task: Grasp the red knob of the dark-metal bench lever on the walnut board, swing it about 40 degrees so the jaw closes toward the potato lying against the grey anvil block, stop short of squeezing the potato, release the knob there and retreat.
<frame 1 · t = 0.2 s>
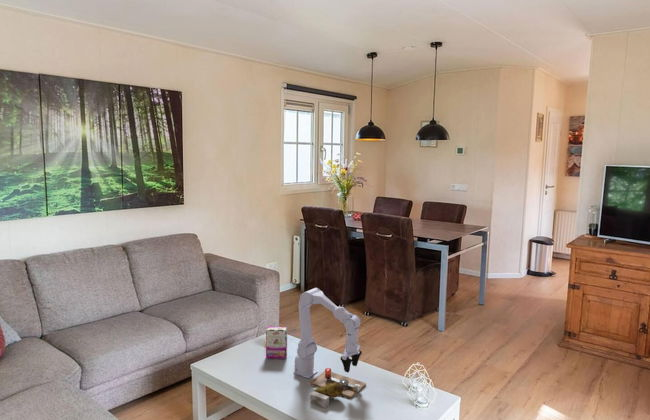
hand: (350, 368, 219), 10 cm above the table, fingers open, 7 cm apart
board: (337, 384, 223), on the table
potato: (328, 398, 210), on the table
lever: (341, 379, 220), point 4 cm above the table, hinge at 0.0°
candy bar box: (276, 357, 251), on the table
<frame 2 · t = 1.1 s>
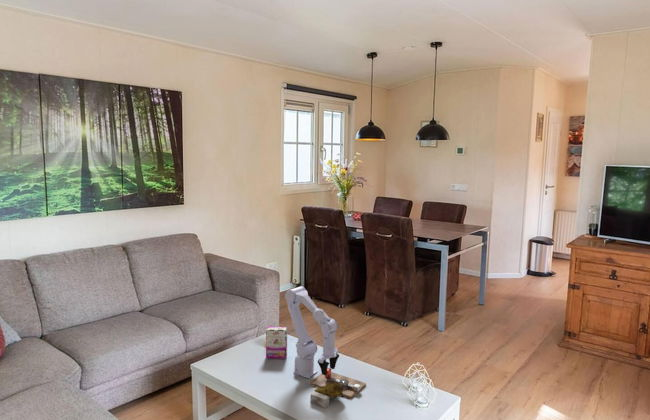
hand: (328, 371, 224), 6 cm above the table, fingers open, 7 cm apart
nothing on the table moved.
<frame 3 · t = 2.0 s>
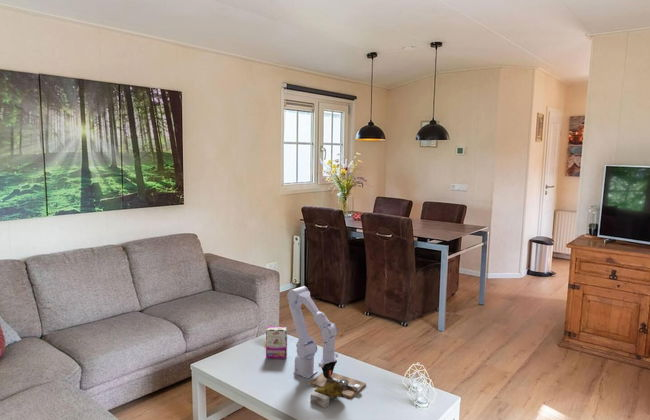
hand: (328, 375, 224), 4 cm above the table, fingers closed on lever, 3 cm apart
lever: (341, 379, 220), point 4 cm above the table, hinge at 0.0°, touching gripper
everything else where it was.
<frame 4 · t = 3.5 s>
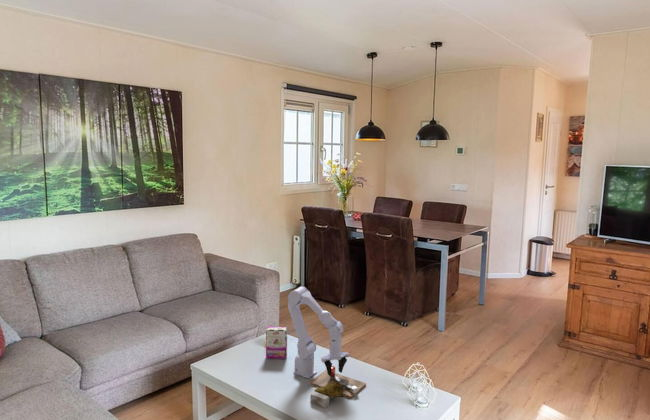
hand: (334, 373, 227), 4 cm above the table, fingers open, 6 cm apart
lever: (342, 379, 220), point 4 cm above the table, hinge at 19.1°, touching gripper
everything else where it was.
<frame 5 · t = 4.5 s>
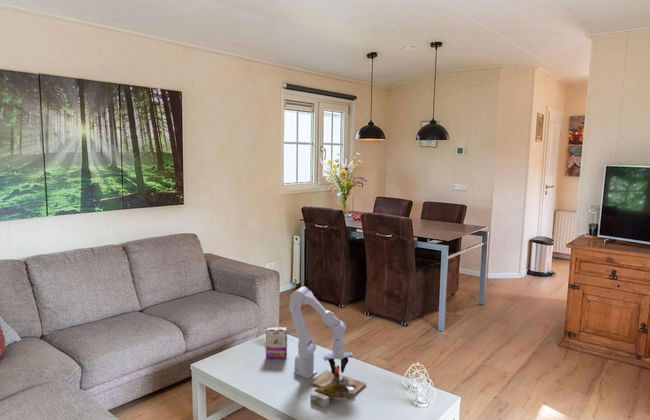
hand: (337, 372, 228), 4 cm above the table, fingers open, 4 cm apart
lever: (343, 378, 220), point 4 cm above the table, hinge at 34.7°, touching gripper
everything else where it was.
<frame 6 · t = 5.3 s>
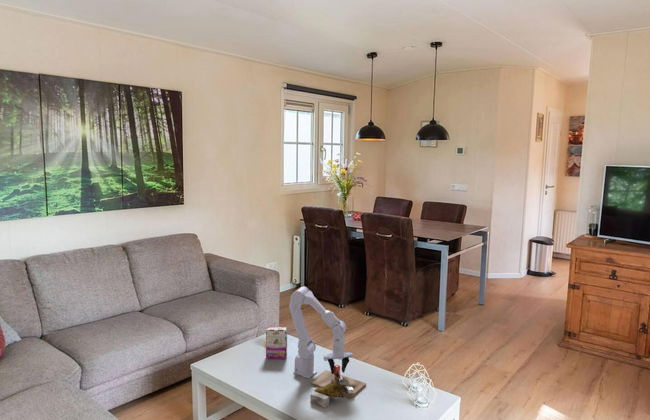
hand: (337, 372, 228), 4 cm above the table, fingers open, 5 cm apart
lever: (343, 378, 220), point 4 cm above the table, hinge at 36.9°
everything else where it was.
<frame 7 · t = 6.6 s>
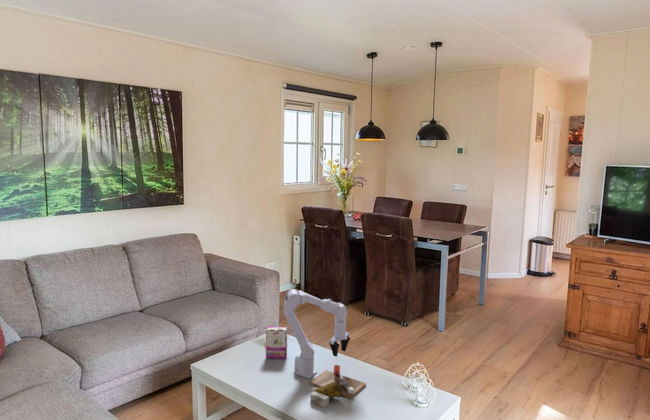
hand: (339, 353, 235), 10 cm above the table, fingers open, 7 cm apart
nothing on the table moved.
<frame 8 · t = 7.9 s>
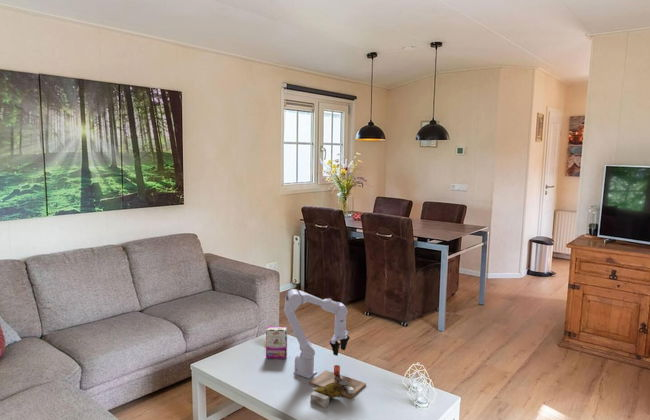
hand: (339, 352, 236), 10 cm above the table, fingers open, 7 cm apart
nothing on the table moved.
at the end: lever at +37° (first picture: +0°); potato moved 0.3 cm from its start; the gripper is holding nothing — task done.
